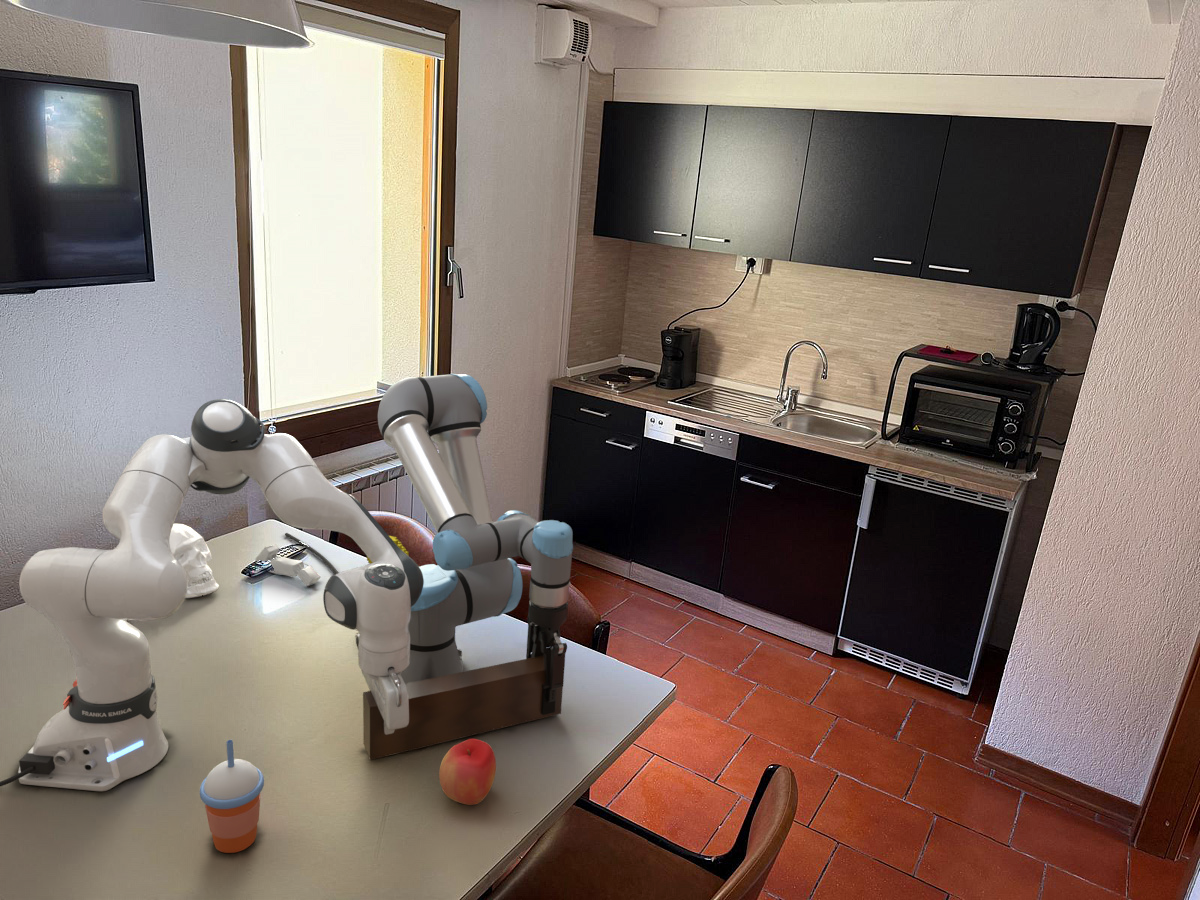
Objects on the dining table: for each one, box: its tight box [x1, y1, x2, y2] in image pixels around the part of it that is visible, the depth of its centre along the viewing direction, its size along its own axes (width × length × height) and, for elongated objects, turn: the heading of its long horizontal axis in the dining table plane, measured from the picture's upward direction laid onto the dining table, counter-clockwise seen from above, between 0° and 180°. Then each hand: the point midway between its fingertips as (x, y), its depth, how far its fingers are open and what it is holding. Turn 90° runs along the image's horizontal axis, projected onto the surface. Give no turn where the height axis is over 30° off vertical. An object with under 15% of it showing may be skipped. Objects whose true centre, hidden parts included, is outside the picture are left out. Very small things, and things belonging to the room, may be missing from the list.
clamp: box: [254, 544, 322, 587], centre depth 219 cm, size 20×4×7 cm, turn 62°
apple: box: [438, 738, 497, 806], centre depth 145 cm, size 10×10×10 cm
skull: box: [169, 523, 220, 599], centre depth 208 cm, size 13×22×16 cm, turn 73°
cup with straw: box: [199, 739, 265, 854], centre depth 131 cm, size 9×9×18 cm
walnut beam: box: [362, 655, 564, 761], centre depth 162 cm, size 38×5×11 cm, turn 118°
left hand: (383, 721), depth 155 cm, fingers closed on walnut beam, 5 cm apart
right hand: (541, 704), depth 171 cm, fingers closed on walnut beam, 5 cm apart
